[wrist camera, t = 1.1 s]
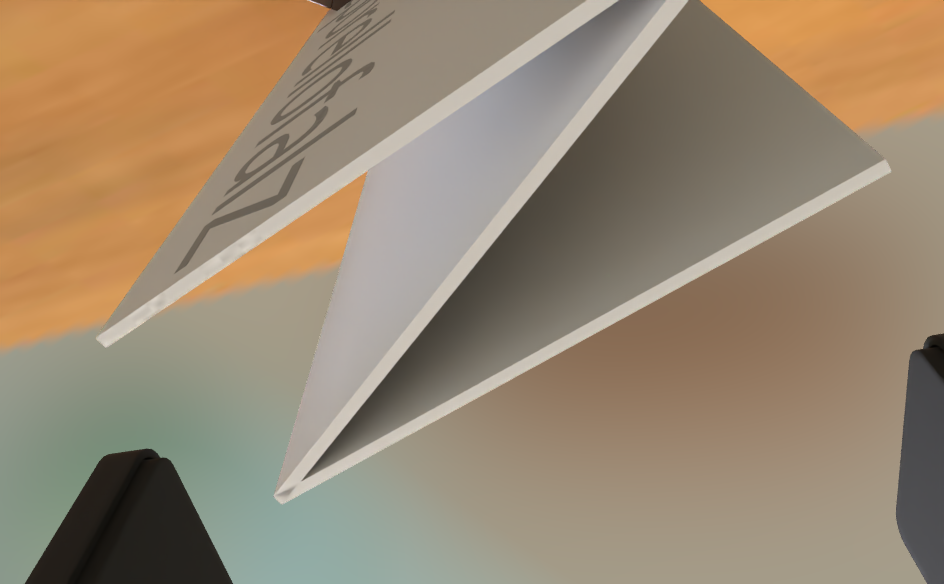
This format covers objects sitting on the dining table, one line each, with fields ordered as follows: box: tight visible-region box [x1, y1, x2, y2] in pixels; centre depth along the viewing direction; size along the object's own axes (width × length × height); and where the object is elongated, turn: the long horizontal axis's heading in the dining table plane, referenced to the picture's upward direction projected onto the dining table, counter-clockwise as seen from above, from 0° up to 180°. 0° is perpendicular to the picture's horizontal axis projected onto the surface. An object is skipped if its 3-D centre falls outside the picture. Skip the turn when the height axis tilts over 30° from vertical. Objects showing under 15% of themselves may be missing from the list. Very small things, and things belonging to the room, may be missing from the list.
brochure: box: [96, 0, 891, 504], centre depth 28 cm, size 14×6×30 cm, turn 125°
